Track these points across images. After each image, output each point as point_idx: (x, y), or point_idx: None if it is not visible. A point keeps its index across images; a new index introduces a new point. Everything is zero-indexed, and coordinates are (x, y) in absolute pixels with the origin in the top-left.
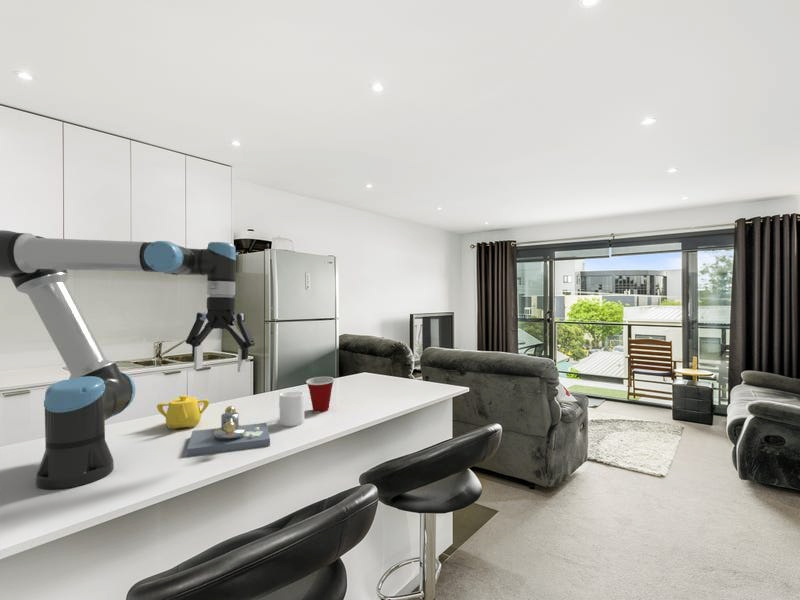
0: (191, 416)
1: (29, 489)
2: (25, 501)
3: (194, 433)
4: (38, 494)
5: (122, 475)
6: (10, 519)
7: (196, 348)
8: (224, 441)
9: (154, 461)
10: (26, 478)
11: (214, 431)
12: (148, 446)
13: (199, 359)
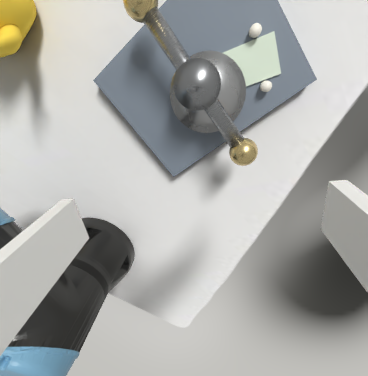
0: (17, 15)
1: None
2: (119, 289)
3: (113, 96)
4: None
5: (147, 238)
6: (144, 309)
7: (4, 349)
8: None
9: (144, 197)
10: None
11: (179, 117)
12: (73, 148)
13: (52, 253)
